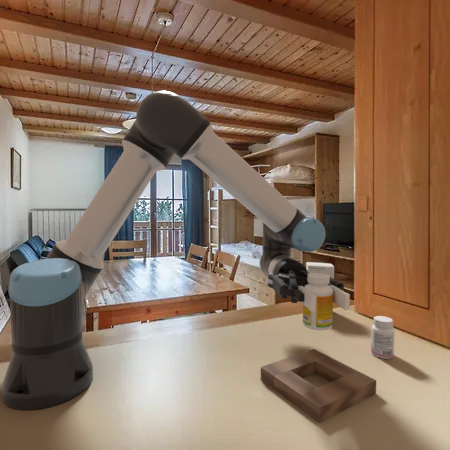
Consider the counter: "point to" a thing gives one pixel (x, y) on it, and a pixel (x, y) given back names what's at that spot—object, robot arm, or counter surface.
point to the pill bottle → (382, 337)
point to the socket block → (323, 396)
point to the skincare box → (320, 268)
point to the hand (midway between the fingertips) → (330, 302)
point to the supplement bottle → (319, 303)
